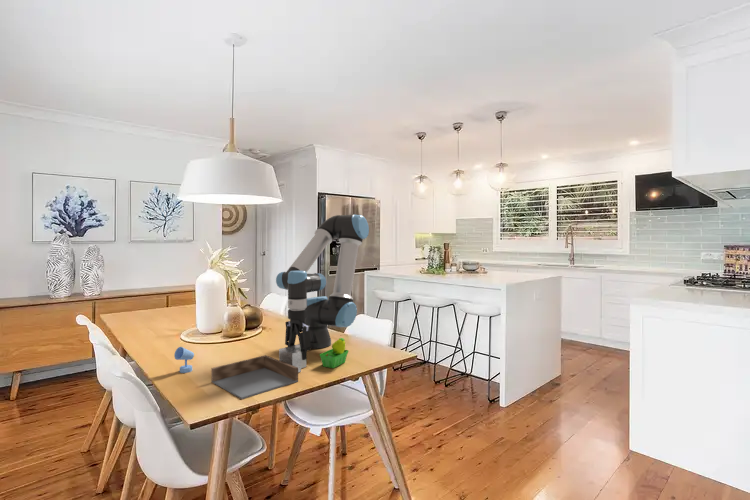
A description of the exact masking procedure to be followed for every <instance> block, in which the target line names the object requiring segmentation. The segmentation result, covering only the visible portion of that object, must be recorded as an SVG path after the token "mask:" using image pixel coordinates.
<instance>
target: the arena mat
mask: <svg viewBox="0 0 750 500" xmlns="http://www.w3.org/2000/svg"><path fill="white" fill-rule="evenodd" d="M298 382H299V379H298V380H297V381H295V380H292V379H290V378H288V377H285V376H283V375H281V374H278V373H276V372H274V371H271V370H269V369H266V368H262V369H258V370H254V371H250V372H247V373H243V374H239V375H235V376H232V377H228V378H224V379H220V380H217V381H212V380H211V383H213V385H216V386H217V387H220V388H221V389H223V390H225V391H226V392H228V393H230V394H231V395H233V396H235V397H237V398H239V399H240V400H245V399H248V398H250V397H251V398H252V397H254V396H257V395H260V394H263V393H266V392H270V391H273V390H276V389H280V388H282V387H286V386H288V385H291V384H295V383H298Z"/></svg>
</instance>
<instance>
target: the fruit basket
mask: <svg viewBox="0 0 750 500" xmlns="http://www.w3.org/2000/svg"><path fill="white" fill-rule="evenodd" d="M348 353H349V350H348V349H346V340H345V338H344V337H339V338H338V339H337V340H336V341H334V342H333V343H331V349H329V350H326V351H324V352H322V353H320V354H319V357H320V360H321V364H322V366H323V367H324V368H328V369H330V368H331V369H335V368H337V367H339V366H341V365H342V364H345V363H346V361H347V357H348Z"/></svg>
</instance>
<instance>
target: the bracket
mask: <svg viewBox="0 0 750 500" xmlns="http://www.w3.org/2000/svg"><path fill="white" fill-rule="evenodd" d="M303 349H304V348H303ZM278 360H279V361H282V362H285V363H287V364H290V365H292V366H295V367H298V374H299V373H302V368H301V348H300V343H298V344H295V345H294V346H290V347H288V346H285V347H281V348H279V349H278Z"/></svg>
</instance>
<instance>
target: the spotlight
mask: <svg viewBox="0 0 750 500" xmlns="http://www.w3.org/2000/svg"><path fill="white" fill-rule="evenodd" d="M194 356H195V353H194V352H193V351H192V350H189V349H187V348H185V347H183V346H178V347H177V348H176V349H175V352H174V359H175V360H177V361H180V360H182V361H184V365H181V366H179V373H181V374H186V373H191V372H192V371H193V365H192V364H188V361H190V360H193V359H194Z"/></svg>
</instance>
